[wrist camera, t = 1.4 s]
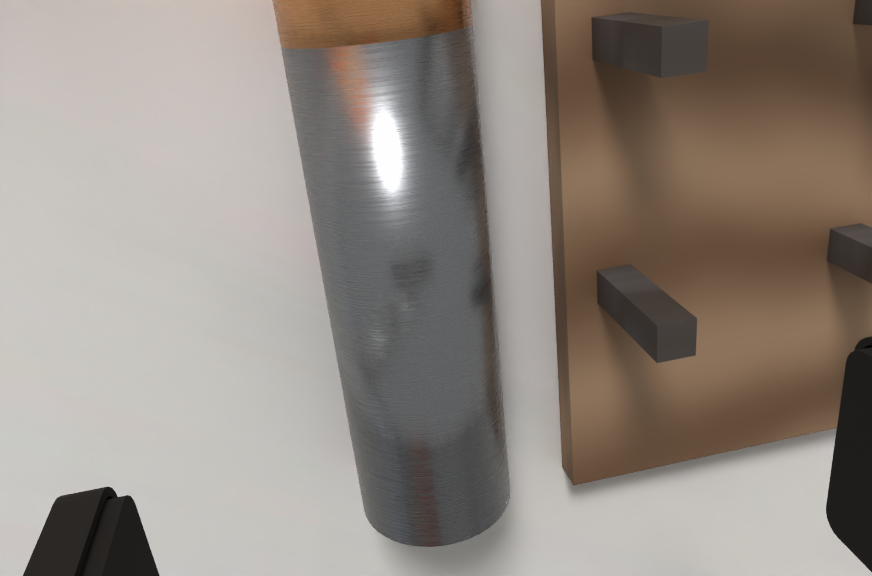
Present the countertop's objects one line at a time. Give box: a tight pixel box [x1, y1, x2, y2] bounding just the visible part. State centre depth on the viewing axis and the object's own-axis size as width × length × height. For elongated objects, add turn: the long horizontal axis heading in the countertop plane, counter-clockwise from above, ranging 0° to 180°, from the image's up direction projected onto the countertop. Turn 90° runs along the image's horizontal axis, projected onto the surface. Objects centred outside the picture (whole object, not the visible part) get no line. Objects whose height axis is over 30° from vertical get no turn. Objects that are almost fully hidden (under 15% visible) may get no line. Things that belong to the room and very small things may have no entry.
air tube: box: [273, 0, 510, 547], centre depth 22 cm, size 20×5×5 cm, turn 6°
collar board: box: [541, 0, 872, 485], centre depth 20 cm, size 28×12×10 cm, turn 6°
